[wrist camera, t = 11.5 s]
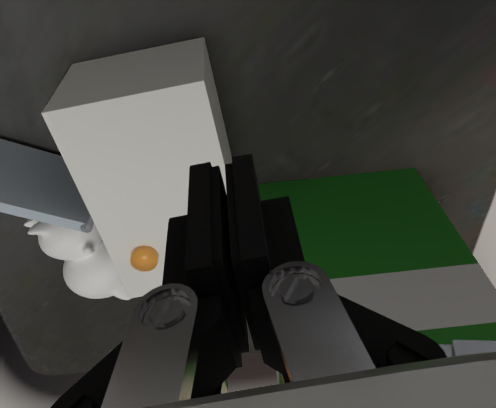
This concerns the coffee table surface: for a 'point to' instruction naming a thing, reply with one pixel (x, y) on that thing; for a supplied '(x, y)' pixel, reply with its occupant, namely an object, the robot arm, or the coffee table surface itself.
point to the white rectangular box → (138, 146)
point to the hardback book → (392, 252)
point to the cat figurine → (81, 260)
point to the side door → (40, 188)
